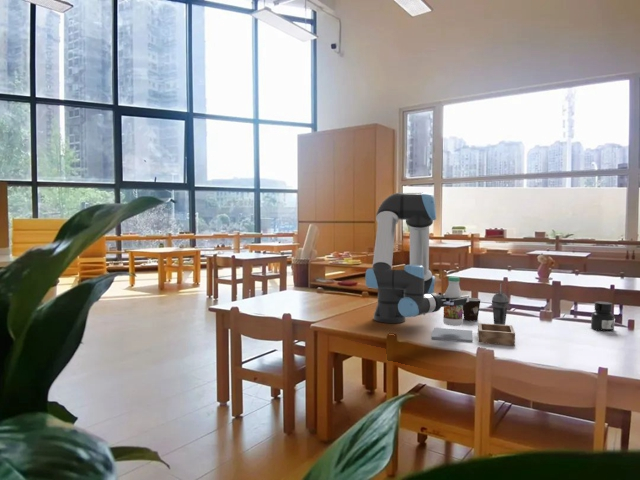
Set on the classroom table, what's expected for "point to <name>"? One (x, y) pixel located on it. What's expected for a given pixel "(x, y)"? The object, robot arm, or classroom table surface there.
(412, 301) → the robot arm
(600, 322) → the ink bottle
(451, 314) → the milk bottle
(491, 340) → the caddy
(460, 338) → the mat
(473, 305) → the coffee mug
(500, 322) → the beverage cup
